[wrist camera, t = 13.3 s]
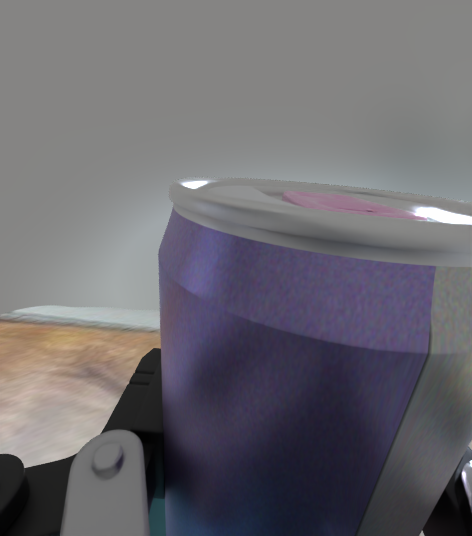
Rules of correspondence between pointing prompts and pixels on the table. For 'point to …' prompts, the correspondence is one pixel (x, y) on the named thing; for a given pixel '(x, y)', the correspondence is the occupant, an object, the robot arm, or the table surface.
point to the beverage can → (312, 357)
